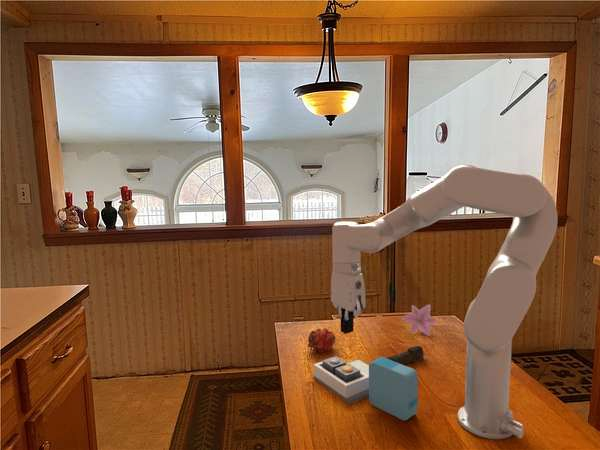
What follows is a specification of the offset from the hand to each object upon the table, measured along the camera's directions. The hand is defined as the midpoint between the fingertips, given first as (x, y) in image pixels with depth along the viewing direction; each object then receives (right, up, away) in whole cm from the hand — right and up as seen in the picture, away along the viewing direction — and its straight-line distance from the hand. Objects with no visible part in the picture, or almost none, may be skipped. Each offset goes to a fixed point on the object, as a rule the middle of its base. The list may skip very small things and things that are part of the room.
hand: (347, 331), depth 112 cm
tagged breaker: (0, -14, +2) cm, 14 cm away
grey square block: (-3, -13, +7) cm, 15 cm away
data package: (+11, -18, -8) cm, 23 cm away
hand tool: (+19, -15, +17) cm, 29 cm away
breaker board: (+3, -16, +7) cm, 18 cm away
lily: (+33, -11, +43) cm, 55 cm away
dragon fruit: (-5, -14, +28) cm, 32 cm away
